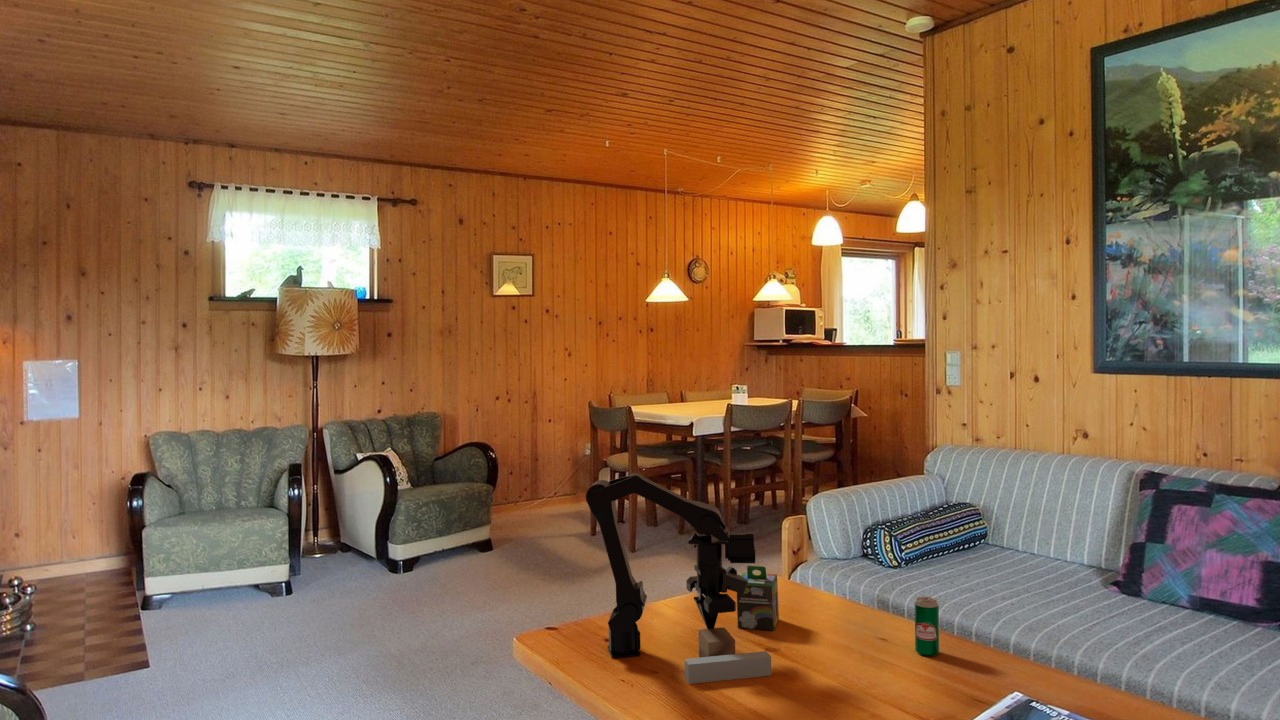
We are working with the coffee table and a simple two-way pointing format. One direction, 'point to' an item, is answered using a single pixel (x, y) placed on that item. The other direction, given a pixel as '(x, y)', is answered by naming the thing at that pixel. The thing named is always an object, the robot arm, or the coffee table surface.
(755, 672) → the batten
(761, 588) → the chalk box
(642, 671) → the coffee table surface
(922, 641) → the soda can
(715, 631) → the walnut brick
